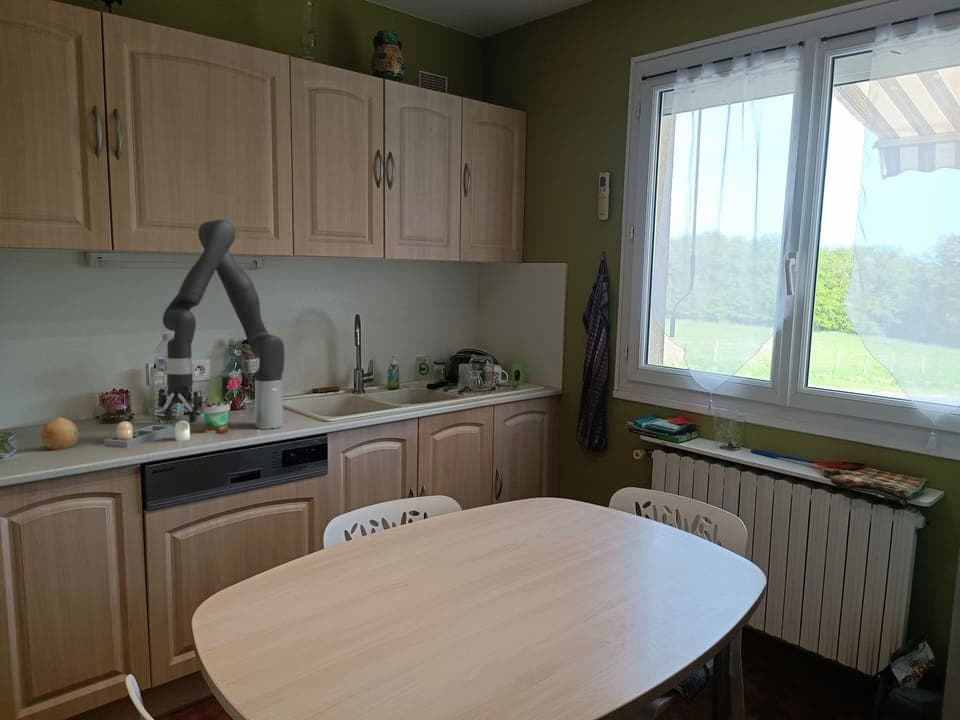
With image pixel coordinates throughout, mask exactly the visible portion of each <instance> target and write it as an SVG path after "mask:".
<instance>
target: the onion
mask: <svg viewBox="0 0 960 720" xmlns="http://www.w3.org/2000/svg"><path fill="white" fill-rule="evenodd" d="M40 436H41V440H42V441H41V442H42V444H43V446H44V447H46V448H48V449H49V450H53V451H54V450H55V451H56V450H57V451H58V450H65V449H70V448H72V447H73V446H74V445H75V444H76V443H77V442H78V440H79V429H78V427H77V425H76V424H75V423H74V422H73V421H72V420H70V419H67V418H65V417H55V418H53V419H51V420H49V421H48V422H47V423H46V424H45V425H44V426H43V428H42V430H41V435H40Z"/></svg>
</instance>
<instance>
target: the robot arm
mask: <svg viewBox="0 0 960 720" xmlns="http://www.w3.org/2000/svg"><path fill="white" fill-rule="evenodd" d="M198 239H199V241H200V242H199V243H201V245H202V247H203V249H204V250H203V252H202V254H201V256H200V257H199V258H198V260H197V261H196V262H195V264H194V265H192V267H191V269H190V270H189V272H188V273H187V274H186V276H185V278H184V280H183V282H182V284H181V285H180V288H179V290H178V292H177V295H176V296H175V297H174V298H173V299H172V301H171V302H170V303H169V305H168V306H167V308H166V309H165V310H164V314H163V316H162V323H163V324H162V325H163V326H164V327H165V329H167V330H169V331H173V332H174V334H173V338H172V339H170V340H168V342H167V345H166V347H167V353H166V354H167V355H166V356H167V360H166V386H167V388H166V387H163V388H162V387H161V388H159V389H158V404H157V405H158V407H159V408H162V409H163V410H164V412H163V413H164V419H165V421H166V422H170V421H173V409H172V407H173V406H174V404H181V405H182V404H183V405H184V406H185V407H187V409H188V414H189V415H188V424H192V423H193V424H194V423H196V421H197V411H198V410H201V409H203V399H202V398H203V396H202V390H193V385H194V383H193V382H194V379H193V378H194V375H193V373H194V372H193V369H194V368H193V360H192V359H193V358H192V343H193V340H194V336H195V331H196V326H197V322H196V318H195V315H194V314H193V312H192V311H191V309H192V308H194V307H197V306H198V305H200V303H201V301H202V299H203V297H204V295H205V292H206V291H207V288H208V285H209V284H210V281H211V279H212V278H213V275H214V273H215V272H216V273H217V275H218V277H219V279H220V281H221V283H222V286H223V288H224V291H225V293H226V295H227V297H228V299H229V302H230V304H231V305H232V308H233V309H234V312H235V314H236V316H237V318H238V320H239V322H240V324H241V326H242V328H243V331H244V334H245V337H246V340H247V343H248V347H249V349H250V351H251V354H252V355H253V356H254V357H255V358H257V359H259V366H258V369H257V370H256V371H255V372H254V393H255V394H254V397H255V398H254V399H255V400H254V401H255V402H254V406H255V409H254V410H255V413H254V415H255V428H256V427H257V428H256V429H259V428H260V429H261V430H270V429H271V428H274V429H279V428H282V427H283V425H284V405H283V404H284V400H283V380H282V379H283V373H284V370H285V346H284V342H283V340H282V339H281V338H280V337H279V336H277V335H273V334H270V333H269V332H268V330H267V328H266V326H265V324H264V322H263V320H262V316H261V305H260V298H259V294H258V292H257V289H256V288H255V285H254V284H253V282H252V279H251V278H250V276H249V275H248V274H247V272H246V271H245V270H244V269H243V268H242V267H241V266H240V265H239V264H238V263H237V261H236V260H235V259H234V256H233V255H232V253H231V252H230V249H231V246H232V245H233V243H234V241H235V239H236V230H235V227H234V225H233V224H232V223H231V222H230V221H228V220H226V219H215V220H209V221H205V222H203V223H201V224H200V225H199V228H198ZM281 426H282V427H281ZM278 427H279V428H278ZM271 430H272V429H271Z"/></svg>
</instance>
